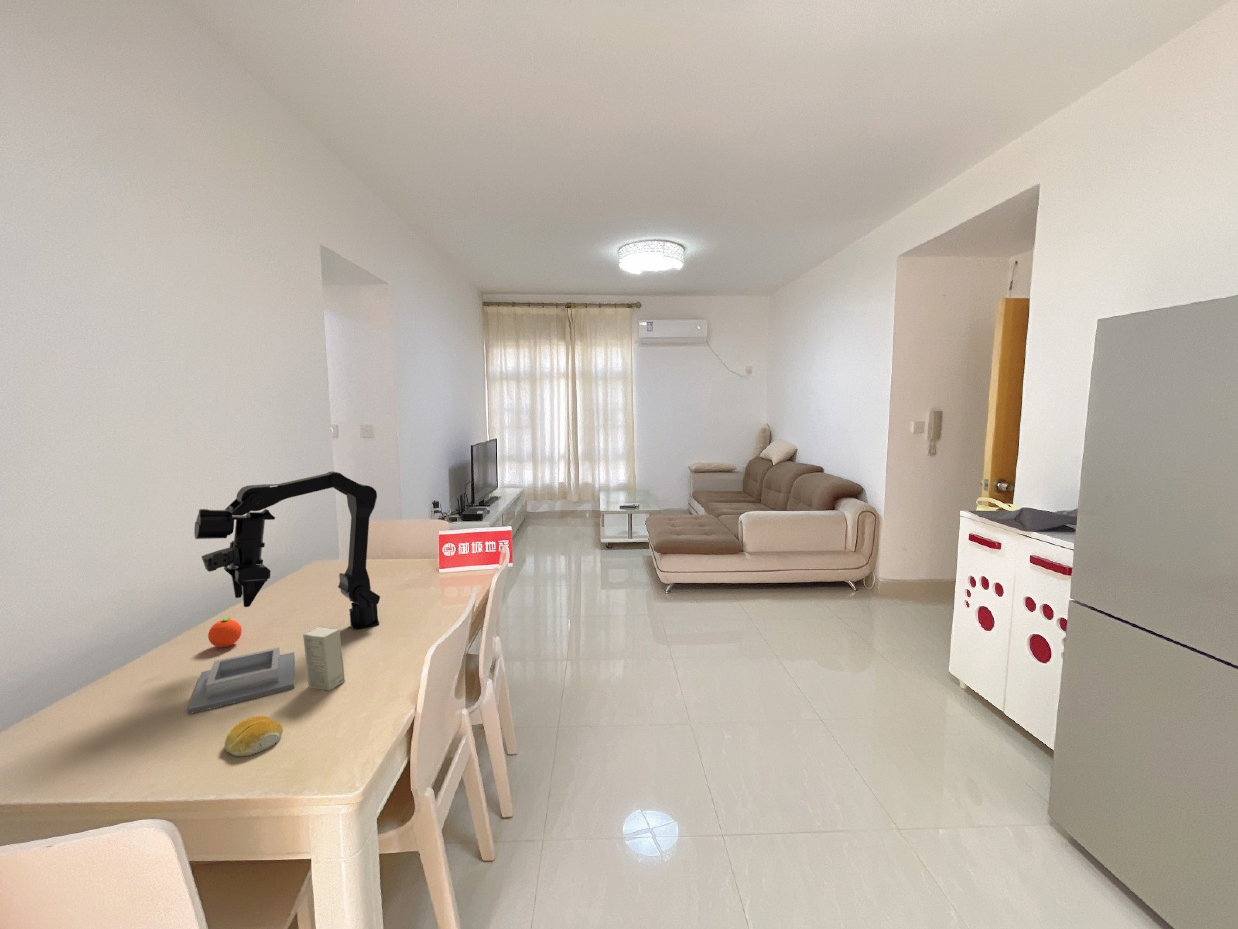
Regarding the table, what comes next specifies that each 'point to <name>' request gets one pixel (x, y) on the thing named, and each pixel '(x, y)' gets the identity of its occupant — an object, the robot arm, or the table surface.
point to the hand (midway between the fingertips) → (242, 602)
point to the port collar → (244, 681)
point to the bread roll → (253, 736)
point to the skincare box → (324, 658)
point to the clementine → (225, 633)
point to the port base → (285, 683)
